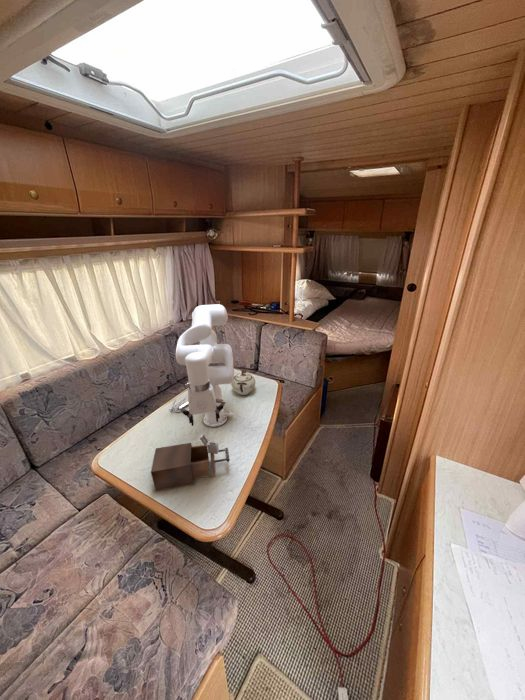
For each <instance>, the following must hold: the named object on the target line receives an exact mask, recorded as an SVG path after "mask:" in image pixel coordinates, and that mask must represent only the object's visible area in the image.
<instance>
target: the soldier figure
mask: <svg viewBox="0 0 525 700" xmlns="http://www.w3.org/2000/svg"><path fill="white" fill-rule="evenodd" d="M177 401H178V400H177V399H175V400H174V401H173V402H172V404H171V408H169V409H168V412H170V413H172V412H175V413H182V412H181V411H180V410H179V408H180V406H182V405H183V404H185V403H187V402H188V401H186V398H182V399H181V400H179V402H178V403H177V404H175V403H176V402H177ZM184 401H186V402H184ZM183 402H184V403H183ZM182 403H183V404H182Z"/></svg>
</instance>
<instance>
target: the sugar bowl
mask: <svg viewBox="0 0 525 700" xmlns="http://www.w3.org/2000/svg"><path fill="white" fill-rule="evenodd" d="M240 371H241V373H237V374H236V375H234V381H233V382H232V383H230V385H231V387H232V389H233V390H234V392H236V393H237V394H238V395H241V396H246V395H249V394H250V393H251V391H252V390H253V389H254V388H255V386H256V379H255V378H254V376H253V375H251V374H250V373H247V371H246V370H244V369H241V370H240Z"/></svg>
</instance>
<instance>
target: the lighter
mask: <svg viewBox="0 0 525 700" xmlns="http://www.w3.org/2000/svg"><path fill="white" fill-rule="evenodd" d="M199 441H201V443H202V445H207V449H208V454H210V453H213V454H214V455H218V454H219V453H220V452H219V450H220V449H219V443H218V442H215V441H214V440H208V439H207V437H206V436H205V434H201V435H200V436H199Z"/></svg>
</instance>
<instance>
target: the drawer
mask: <svg viewBox="0 0 525 700" xmlns="http://www.w3.org/2000/svg"><path fill="white" fill-rule="evenodd" d="M222 452H224V454H225V458H221V459H216V457H215V454H213V453H208V447H207V445H204V444H200V445H192V447H191V469H192V475H193V479H194V480H195V479H200V478H205V477H210V466H211V475H212V478H216V477H217V474H216V463H220V462H229V461H230V453H229V448H228V447H225V448H223V449H219V452H218V453H222ZM209 455H210V457H209Z"/></svg>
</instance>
